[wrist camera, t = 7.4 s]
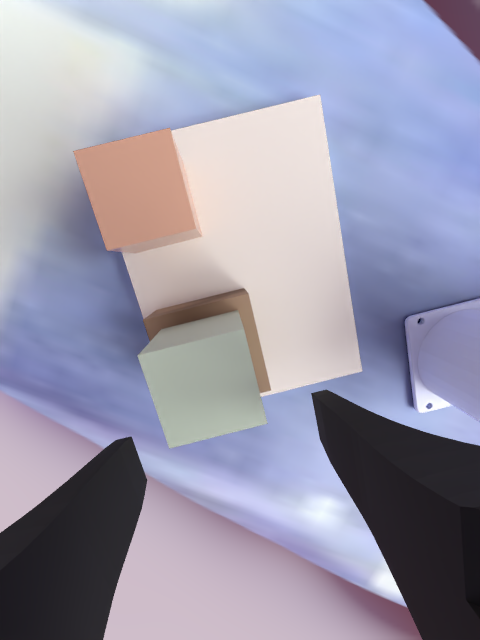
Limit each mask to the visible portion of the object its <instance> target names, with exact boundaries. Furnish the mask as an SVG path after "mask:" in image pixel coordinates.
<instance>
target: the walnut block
mask: <svg viewBox="0 0 480 640" xmlns="http://www.w3.org/2000/svg"><path fill="white" fill-rule="evenodd" d="M236 310H238V312H239V315H240V318H241V321H242V324H243V327H244V331H245V335H246V339H247V343H248V347H249V351H250V355H251V359H252V363H253V367H254V371H255V375H256V380H257V384H258V388H259V392H260V393H263V392H267V391H271V387H270V383H269V378H268V374H267V370H266V366H265V361H264V357H263V353H262V349H261V344H260V340H259V336H258V332H257V327H256V323H255V319H254V315H253V310H252V306H251V302H250V298H249V293H248V292H247V291H246V290H245V289H244V288H242V289H238V290H234V291H230V292H226V293H222V294H218V295H214V296H210V297H206V298H202V299H198V300H194V301H190V302H186V303H182V304H178V305H174V306H170V307H166V308H162V309H158V310H156V311H154V312H153V313H152V314H150V315H149V316H147V317H146V318H145V319H143V322H144V325H145V328H146V331H147V334H148V337H149V340H150V341H151V340H152V339H153V338H154V337H155V336H156V335H157V334H158V332H159V331H160V330H161V329H164V328H168V327H172V326H176V325H180V324H184V323H188V322H192V321H196V320H200V319H204V318H208V317H212V316H216V315H220V314H224V313H228V312H232V311H236Z"/></svg>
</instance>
